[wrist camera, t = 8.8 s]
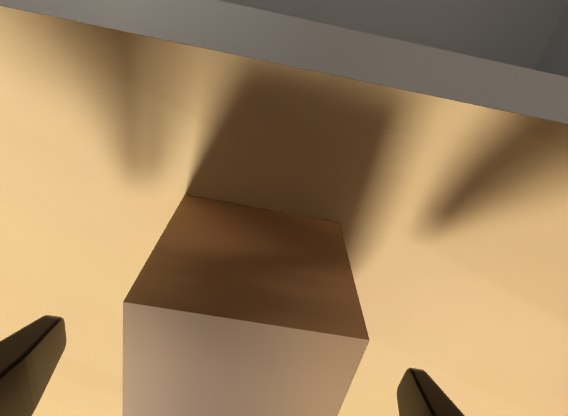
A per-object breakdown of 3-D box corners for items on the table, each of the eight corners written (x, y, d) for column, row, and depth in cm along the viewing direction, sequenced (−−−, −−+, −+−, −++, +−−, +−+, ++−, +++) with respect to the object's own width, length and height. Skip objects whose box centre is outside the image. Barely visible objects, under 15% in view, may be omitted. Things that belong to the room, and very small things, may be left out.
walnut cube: (338, 221, 12) (369, 340, 8) (304, 331, 14) (312, 473, 10) (185, 193, 12) (123, 301, 7) (174, 312, 14) (122, 449, 9)
